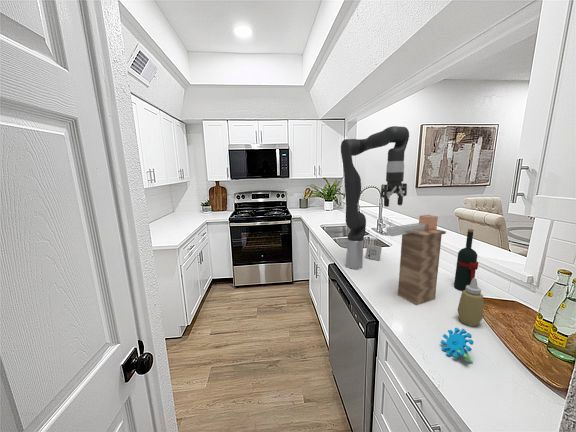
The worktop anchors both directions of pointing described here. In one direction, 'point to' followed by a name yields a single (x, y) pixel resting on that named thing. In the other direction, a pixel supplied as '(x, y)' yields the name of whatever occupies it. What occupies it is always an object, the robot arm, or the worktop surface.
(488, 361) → the worktop surface
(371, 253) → the electrical switch
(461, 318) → the squeeze bottle
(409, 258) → the shelf post
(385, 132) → the robot arm
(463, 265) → the wine bottle
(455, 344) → the blue flower
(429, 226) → the copper head mallet
